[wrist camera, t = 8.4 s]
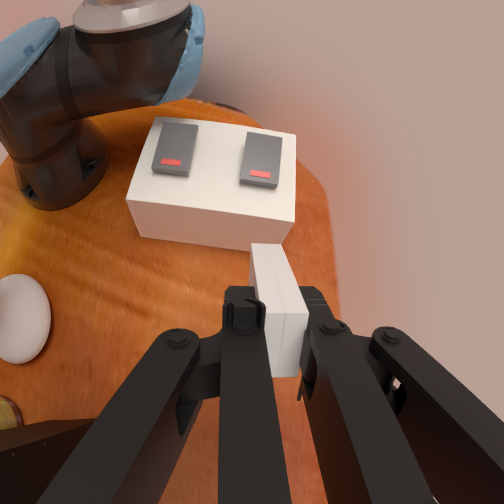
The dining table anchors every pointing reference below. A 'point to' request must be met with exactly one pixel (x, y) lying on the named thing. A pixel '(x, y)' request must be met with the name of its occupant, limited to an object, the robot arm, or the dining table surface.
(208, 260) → the dining table surface
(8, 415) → the sauce bottle
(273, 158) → the rocker outer
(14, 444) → the tissue box
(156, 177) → the switch box
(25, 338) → the flower in vase
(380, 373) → the robot arm
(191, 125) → the block
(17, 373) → the dining table surface
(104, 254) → the dining table surface
